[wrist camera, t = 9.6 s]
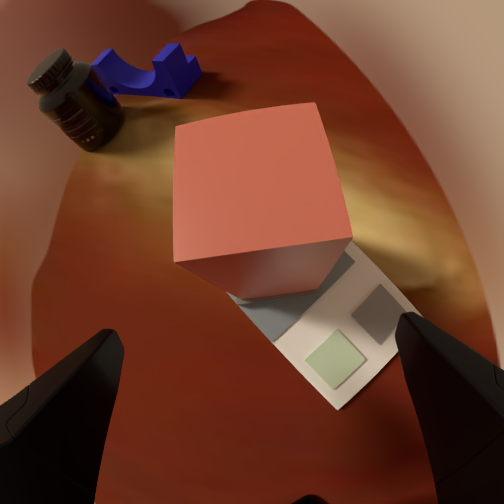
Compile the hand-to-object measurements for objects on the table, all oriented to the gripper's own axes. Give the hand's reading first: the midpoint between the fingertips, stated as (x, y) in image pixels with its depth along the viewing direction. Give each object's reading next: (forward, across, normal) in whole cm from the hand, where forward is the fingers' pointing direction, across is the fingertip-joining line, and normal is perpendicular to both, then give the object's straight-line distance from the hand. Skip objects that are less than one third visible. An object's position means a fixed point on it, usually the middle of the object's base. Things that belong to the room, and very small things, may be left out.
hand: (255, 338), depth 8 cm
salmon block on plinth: (+11, -1, +4) cm, 12 cm away
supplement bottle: (+25, +17, -8) cm, 31 cm away
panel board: (+10, -4, +6) cm, 12 cm away
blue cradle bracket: (+29, +12, -12) cm, 33 cm away
